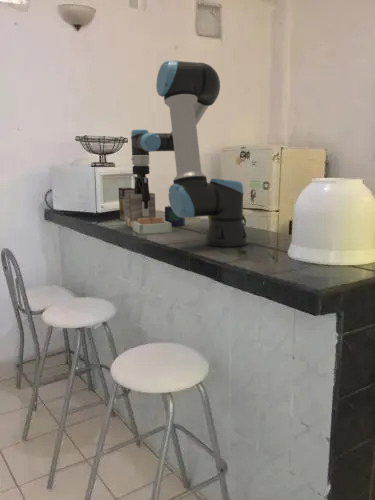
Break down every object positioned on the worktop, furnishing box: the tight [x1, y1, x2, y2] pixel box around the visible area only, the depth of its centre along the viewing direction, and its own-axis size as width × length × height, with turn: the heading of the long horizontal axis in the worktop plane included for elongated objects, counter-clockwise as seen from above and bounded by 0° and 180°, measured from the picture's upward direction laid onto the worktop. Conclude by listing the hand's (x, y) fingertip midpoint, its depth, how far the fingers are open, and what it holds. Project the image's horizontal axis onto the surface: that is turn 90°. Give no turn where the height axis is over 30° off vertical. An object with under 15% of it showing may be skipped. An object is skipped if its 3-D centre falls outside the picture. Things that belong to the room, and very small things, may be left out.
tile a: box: [151, 216, 164, 224], centre depth 199 cm, size 5×4×3 cm
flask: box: [164, 204, 186, 227], centre depth 212 cm, size 9×3×11 cm, turn 87°
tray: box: [132, 219, 173, 236], centre depth 196 cm, size 12×14×4 cm
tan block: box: [129, 192, 157, 222], centre depth 209 cm, size 4×11×12 cm, turn 111°
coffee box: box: [117, 187, 135, 222], centre depth 233 cm, size 9×6×16 cm
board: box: [124, 218, 151, 229], centre depth 211 cm, size 20×11×3 cm, turn 21°
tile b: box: [138, 218, 150, 225], centre depth 197 cm, size 5×4×3 cm
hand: (142, 214), depth 209 cm, fingers open, 10 cm apart
